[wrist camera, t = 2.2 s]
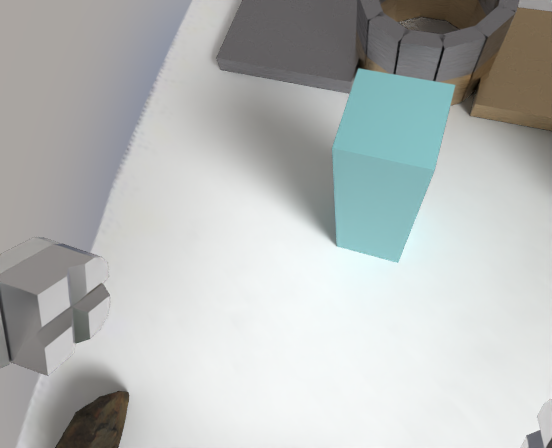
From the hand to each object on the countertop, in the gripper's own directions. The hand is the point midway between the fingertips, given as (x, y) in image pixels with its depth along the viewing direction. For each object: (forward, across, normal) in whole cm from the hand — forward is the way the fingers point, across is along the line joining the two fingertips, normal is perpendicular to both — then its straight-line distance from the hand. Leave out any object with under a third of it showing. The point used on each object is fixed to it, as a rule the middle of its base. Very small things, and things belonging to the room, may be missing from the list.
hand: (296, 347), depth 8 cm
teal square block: (+25, 0, +8) cm, 26 cm away
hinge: (+36, 0, -3) cm, 36 cm away
